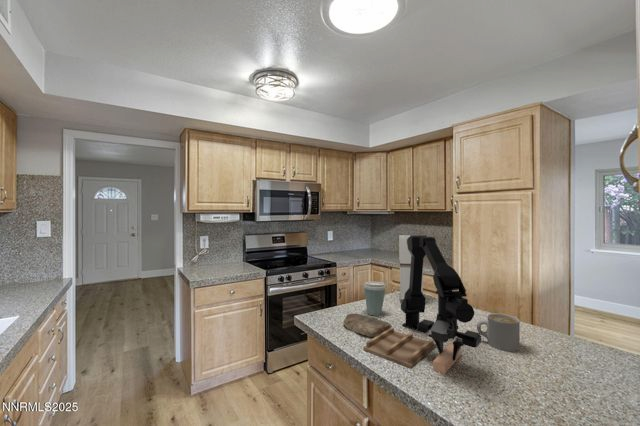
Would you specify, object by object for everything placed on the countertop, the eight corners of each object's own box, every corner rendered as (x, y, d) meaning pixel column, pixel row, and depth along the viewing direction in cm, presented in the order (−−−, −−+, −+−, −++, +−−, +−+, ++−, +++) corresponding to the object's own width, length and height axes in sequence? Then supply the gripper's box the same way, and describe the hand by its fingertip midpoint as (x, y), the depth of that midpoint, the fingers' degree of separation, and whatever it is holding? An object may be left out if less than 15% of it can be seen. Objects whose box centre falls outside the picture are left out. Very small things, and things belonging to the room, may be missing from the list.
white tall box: (420, 298, 165) (420, 235, 164) (422, 304, 154) (422, 237, 154) (399, 297, 167) (399, 235, 167) (400, 303, 157) (399, 237, 156)
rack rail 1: (391, 331, 120) (391, 327, 120) (394, 331, 119) (394, 327, 119) (366, 346, 106) (366, 342, 106) (368, 347, 106) (368, 343, 106)
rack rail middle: (410, 336, 114) (410, 332, 114) (412, 337, 113) (412, 333, 113) (386, 354, 101) (386, 349, 101) (388, 355, 100) (388, 350, 100)
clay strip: (450, 351, 105) (450, 343, 105) (461, 355, 102) (461, 346, 102) (433, 370, 93) (433, 361, 93) (445, 374, 91) (444, 365, 90)
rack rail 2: (431, 343, 109) (431, 338, 109) (433, 344, 108) (433, 339, 108) (408, 362, 95) (407, 357, 95) (410, 363, 95) (410, 358, 95)
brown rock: (335, 326, 129) (371, 340, 113) (335, 314, 129) (371, 328, 113) (357, 318, 138) (393, 331, 122) (357, 308, 138) (393, 319, 123)
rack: (392, 332, 121) (392, 330, 121) (436, 346, 108) (436, 343, 108) (363, 350, 106) (363, 347, 106) (410, 368, 94) (410, 365, 94)
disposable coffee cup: (363, 309, 148) (363, 279, 148) (385, 310, 147) (385, 279, 147) (363, 317, 138) (363, 284, 138) (387, 318, 136) (387, 285, 136)
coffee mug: (520, 343, 110) (520, 316, 109) (518, 354, 102) (518, 325, 102) (479, 334, 118) (479, 309, 118) (475, 343, 110) (475, 317, 110)
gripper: (409, 310, 98) (409, 357, 98) (470, 325, 85) (470, 379, 85) (424, 302, 106) (424, 346, 106) (481, 315, 93) (481, 364, 93)
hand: (447, 358), depth 98 cm, fingers closed on clay strip, 4 cm apart
